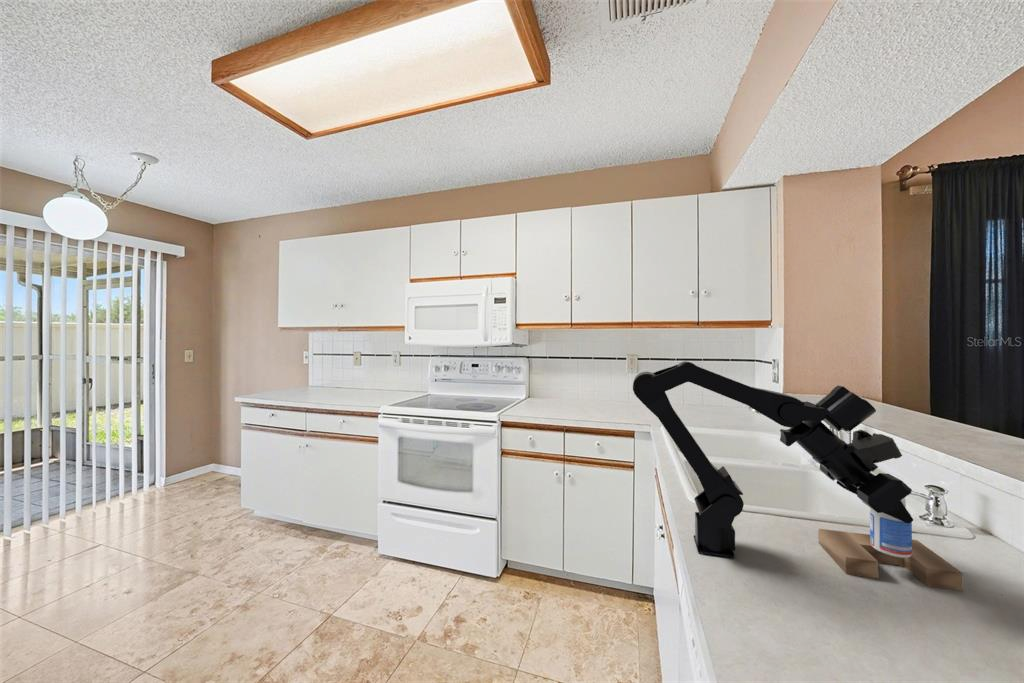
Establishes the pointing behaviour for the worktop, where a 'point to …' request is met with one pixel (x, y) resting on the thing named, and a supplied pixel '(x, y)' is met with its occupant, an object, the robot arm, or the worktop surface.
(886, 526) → the pill bottle
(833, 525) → the worktop surface
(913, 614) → the worktop surface
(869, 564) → the notched board
